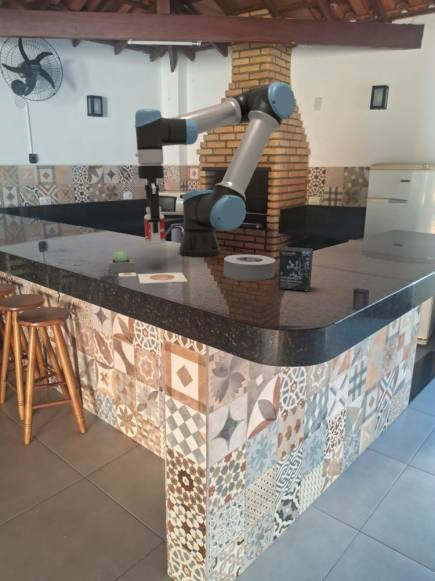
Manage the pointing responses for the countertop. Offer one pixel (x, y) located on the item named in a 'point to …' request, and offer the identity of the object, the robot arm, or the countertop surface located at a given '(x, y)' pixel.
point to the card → (127, 274)
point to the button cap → (120, 256)
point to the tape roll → (249, 267)
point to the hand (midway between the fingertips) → (154, 241)
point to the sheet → (161, 278)
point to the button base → (121, 266)
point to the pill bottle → (148, 227)
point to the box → (295, 268)
